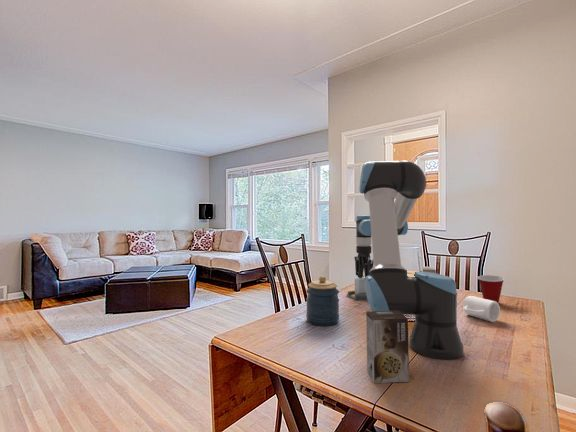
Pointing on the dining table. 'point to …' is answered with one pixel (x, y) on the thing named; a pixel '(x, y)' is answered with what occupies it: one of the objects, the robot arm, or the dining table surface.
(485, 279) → the plastic cup
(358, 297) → the grey rectangular tray
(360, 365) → the dining table surface
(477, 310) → the mug
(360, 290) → the white rectangular block
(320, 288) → the canister
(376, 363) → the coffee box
